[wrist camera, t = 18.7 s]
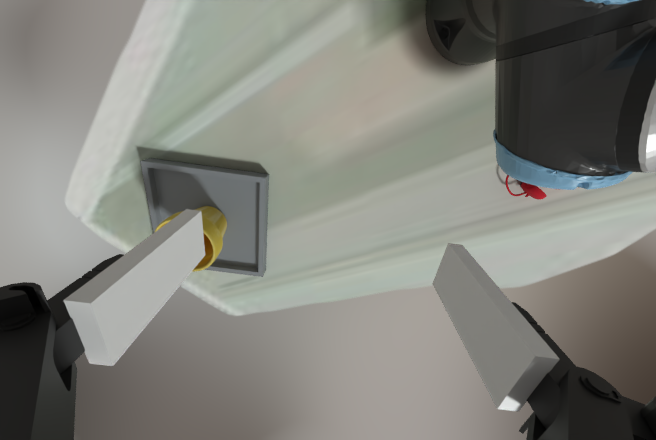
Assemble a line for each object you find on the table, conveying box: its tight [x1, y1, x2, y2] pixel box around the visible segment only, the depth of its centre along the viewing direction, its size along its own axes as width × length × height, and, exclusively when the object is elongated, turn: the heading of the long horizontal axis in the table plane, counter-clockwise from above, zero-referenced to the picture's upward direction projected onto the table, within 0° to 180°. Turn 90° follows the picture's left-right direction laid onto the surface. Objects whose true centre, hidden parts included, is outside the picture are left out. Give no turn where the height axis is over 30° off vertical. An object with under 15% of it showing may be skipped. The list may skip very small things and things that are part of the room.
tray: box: [140, 158, 269, 277], centre depth 51 cm, size 22×22×2 cm
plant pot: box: [154, 206, 227, 271], centre depth 47 cm, size 10×10×10 cm
